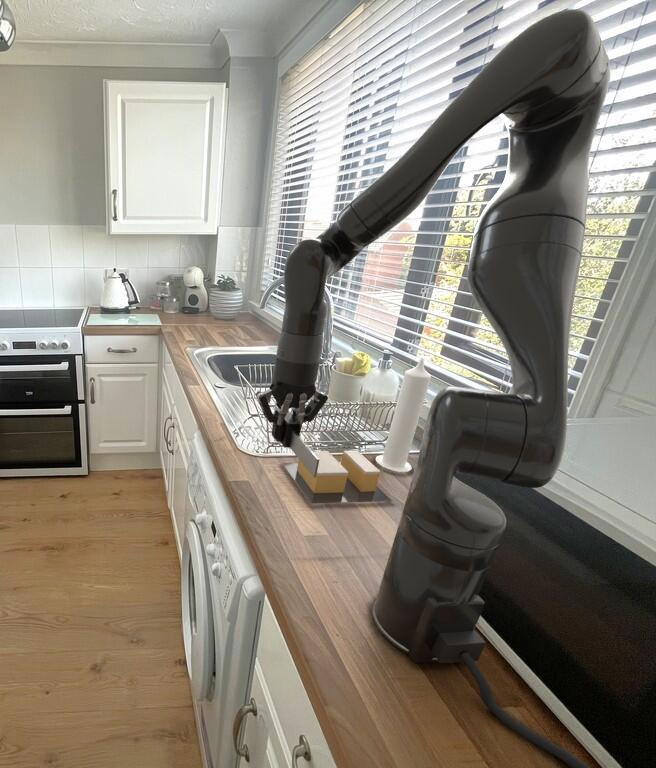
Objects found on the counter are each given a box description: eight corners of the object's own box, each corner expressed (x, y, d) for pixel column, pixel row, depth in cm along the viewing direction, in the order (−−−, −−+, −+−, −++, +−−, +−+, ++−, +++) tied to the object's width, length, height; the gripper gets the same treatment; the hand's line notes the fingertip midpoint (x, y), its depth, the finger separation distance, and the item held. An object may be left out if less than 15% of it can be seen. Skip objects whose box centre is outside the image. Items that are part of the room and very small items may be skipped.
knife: (272, 432, 84) (276, 410, 82) (284, 432, 84) (287, 410, 82) (307, 477, 69) (312, 451, 67) (321, 477, 69) (327, 451, 67)
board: (391, 504, 78) (392, 500, 78) (310, 507, 77) (311, 503, 77) (351, 464, 92) (351, 461, 91) (281, 466, 90) (281, 463, 90)
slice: (375, 491, 81) (380, 471, 79) (360, 491, 81) (365, 471, 79) (352, 469, 88) (357, 450, 87) (339, 469, 88) (343, 450, 86)
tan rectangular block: (343, 492, 80) (348, 472, 79) (314, 493, 80) (318, 473, 78) (323, 469, 88) (327, 450, 86) (296, 470, 87) (300, 451, 86)
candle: (367, 460, 93) (393, 354, 84) (391, 455, 96) (419, 351, 87) (393, 477, 87) (425, 364, 78) (418, 472, 89) (452, 362, 80)
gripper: (325, 349, 79) (310, 430, 85) (254, 349, 78) (244, 431, 84) (346, 361, 72) (328, 449, 78) (268, 362, 71) (256, 450, 77)
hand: (284, 439), depth 81 cm, fingers closed on knife, 2 cm apart
